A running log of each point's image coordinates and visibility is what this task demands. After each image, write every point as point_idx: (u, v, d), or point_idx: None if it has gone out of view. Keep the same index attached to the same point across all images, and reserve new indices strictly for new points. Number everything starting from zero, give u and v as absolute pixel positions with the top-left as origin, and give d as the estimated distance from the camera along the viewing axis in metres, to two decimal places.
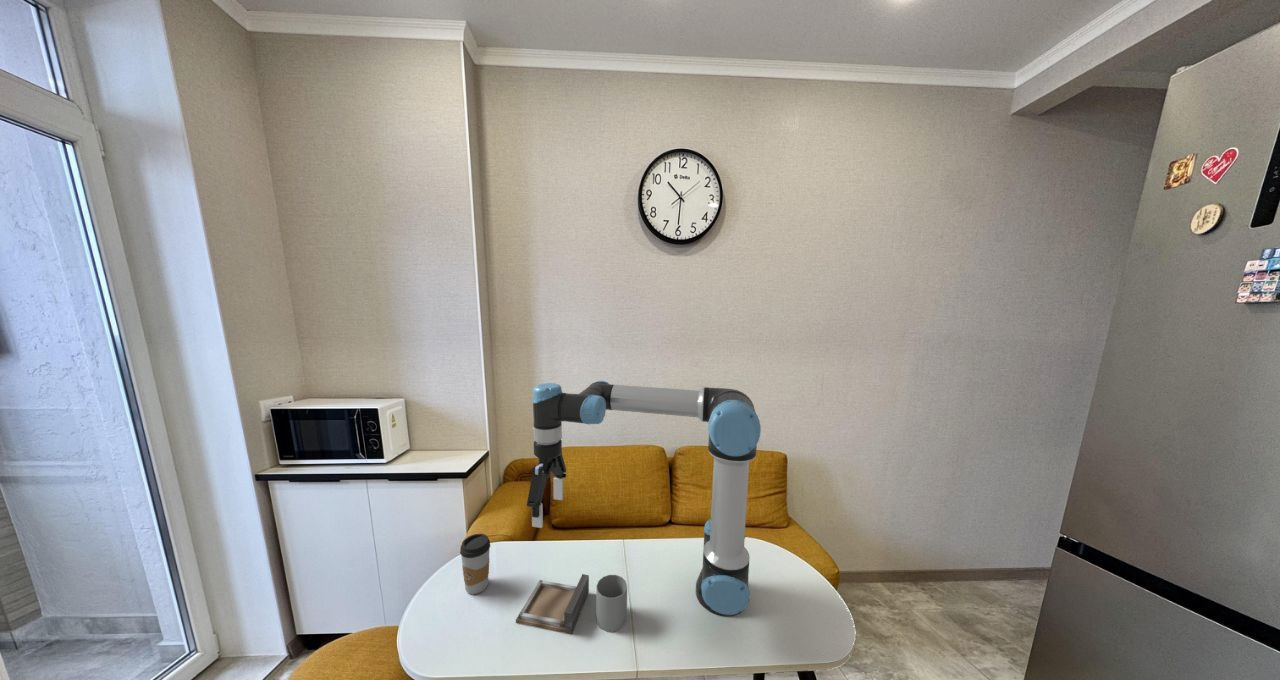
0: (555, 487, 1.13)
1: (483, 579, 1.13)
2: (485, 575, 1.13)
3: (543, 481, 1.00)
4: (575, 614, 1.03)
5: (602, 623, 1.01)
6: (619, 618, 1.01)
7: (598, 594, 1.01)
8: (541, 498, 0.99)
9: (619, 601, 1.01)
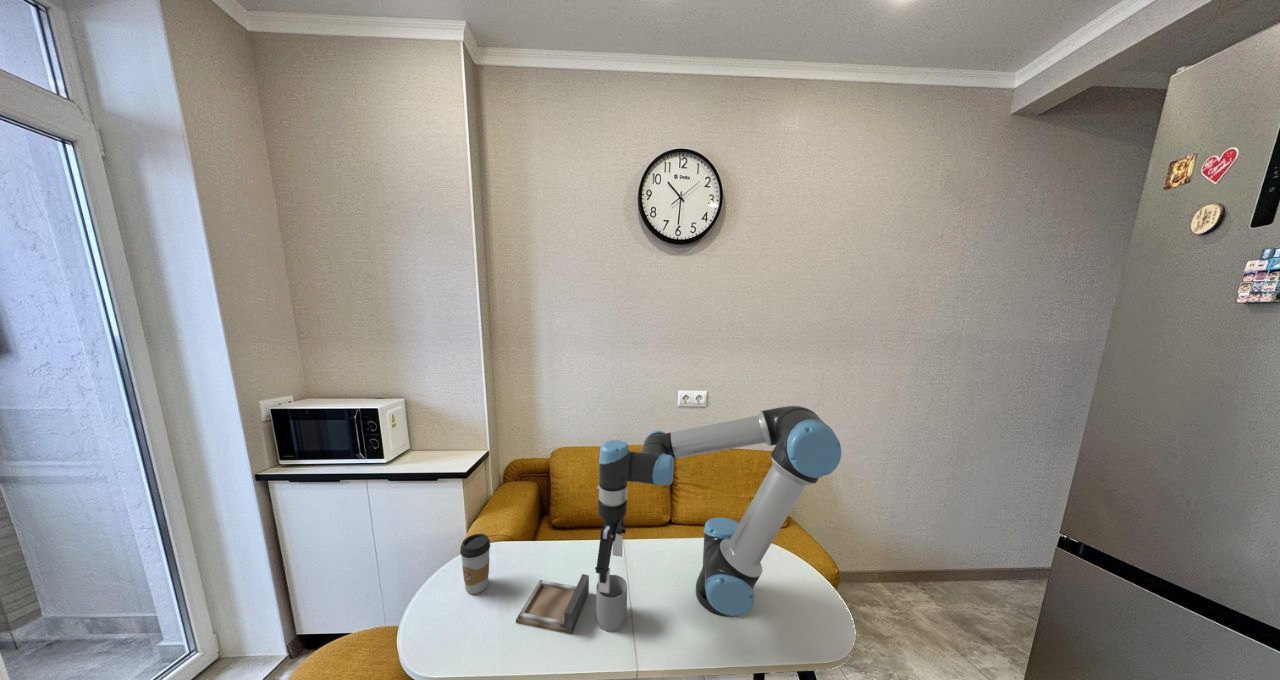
0: (615, 543, 1.09)
1: (483, 578, 1.13)
2: (485, 575, 1.13)
3: (610, 544, 0.97)
4: (575, 614, 1.03)
5: (602, 623, 1.01)
6: (619, 618, 1.01)
7: (598, 594, 1.01)
8: None
9: (619, 601, 1.01)
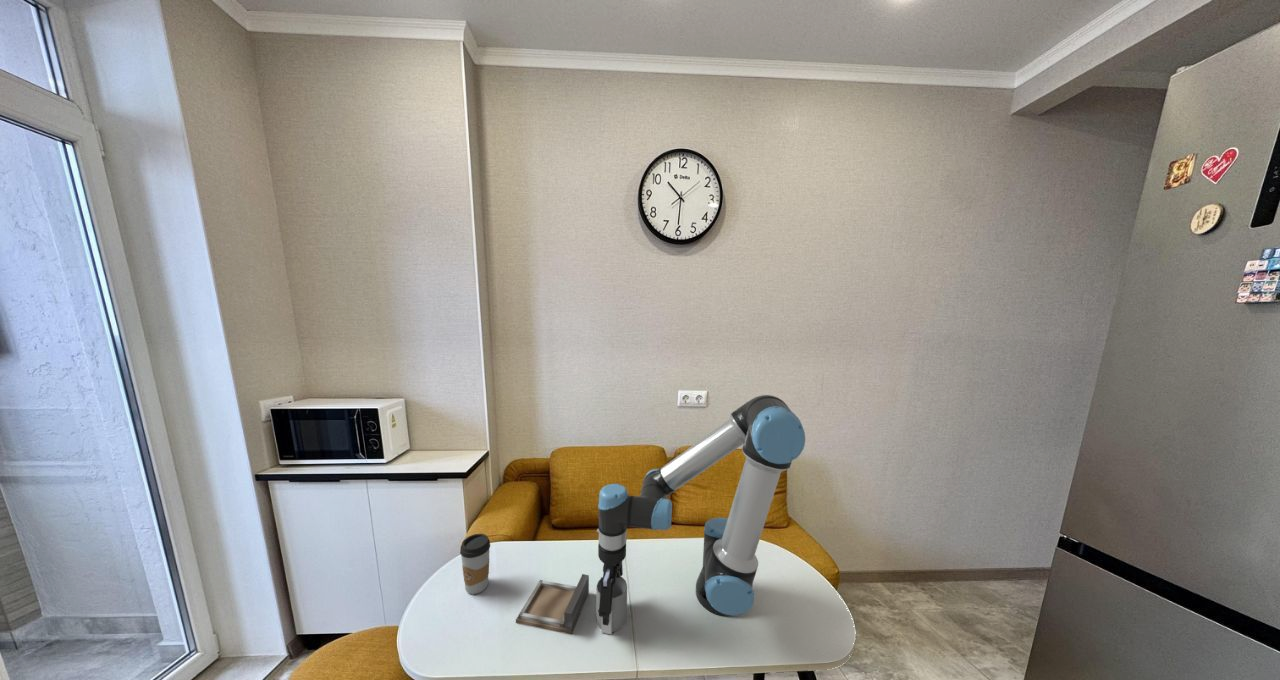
0: None
1: (483, 579, 1.13)
2: (485, 575, 1.13)
3: (611, 588, 1.00)
4: (575, 614, 1.03)
5: None
6: (619, 618, 1.01)
7: (598, 594, 1.01)
8: (611, 605, 0.99)
9: (619, 601, 1.01)
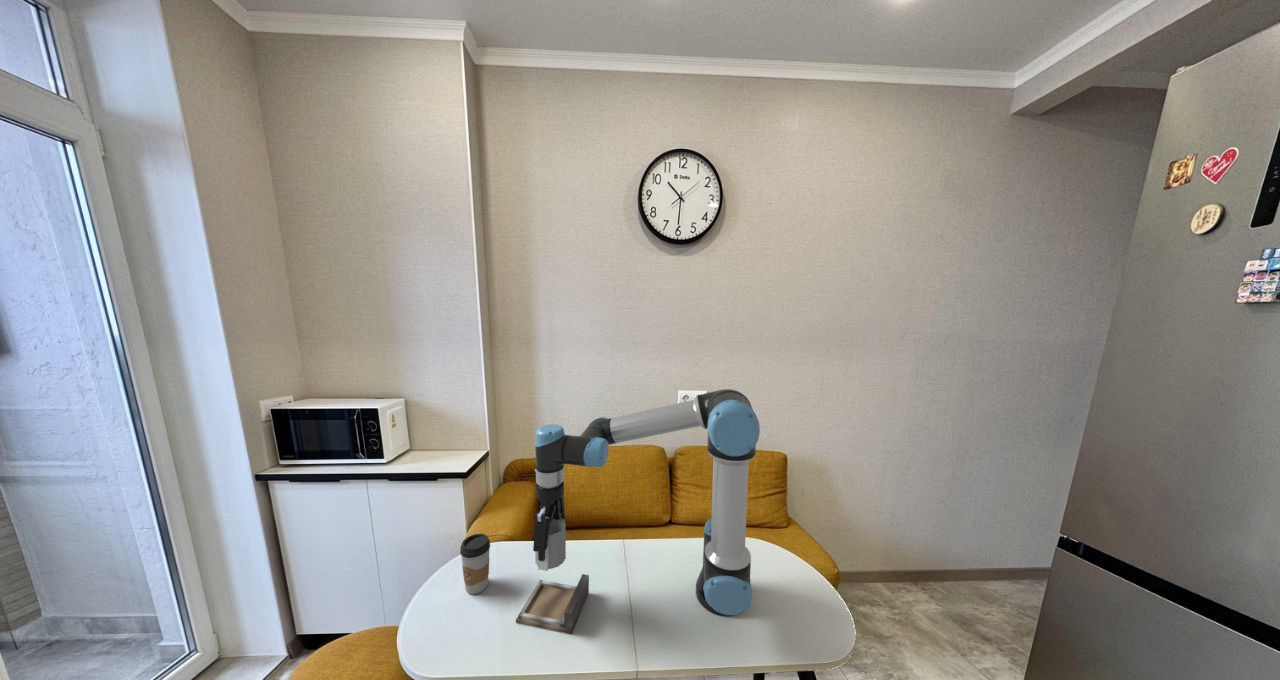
0: None
1: (483, 579, 1.13)
2: (485, 575, 1.13)
3: (547, 525, 1.01)
4: (575, 614, 1.03)
5: None
6: (556, 556, 1.03)
7: None
8: None
9: (555, 538, 1.02)
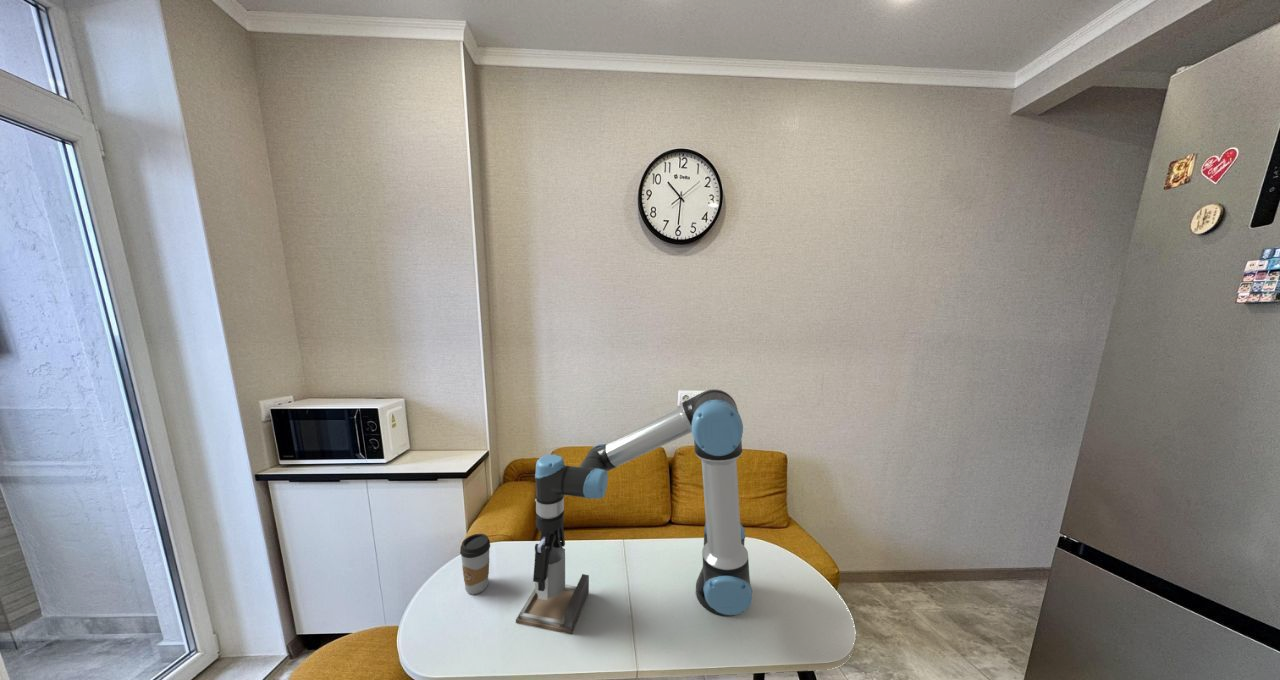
0: None
1: (483, 579, 1.13)
2: (485, 575, 1.13)
3: (547, 555, 1.02)
4: (575, 614, 1.03)
5: None
6: (555, 585, 1.04)
7: None
8: (546, 572, 1.02)
9: (555, 568, 1.03)
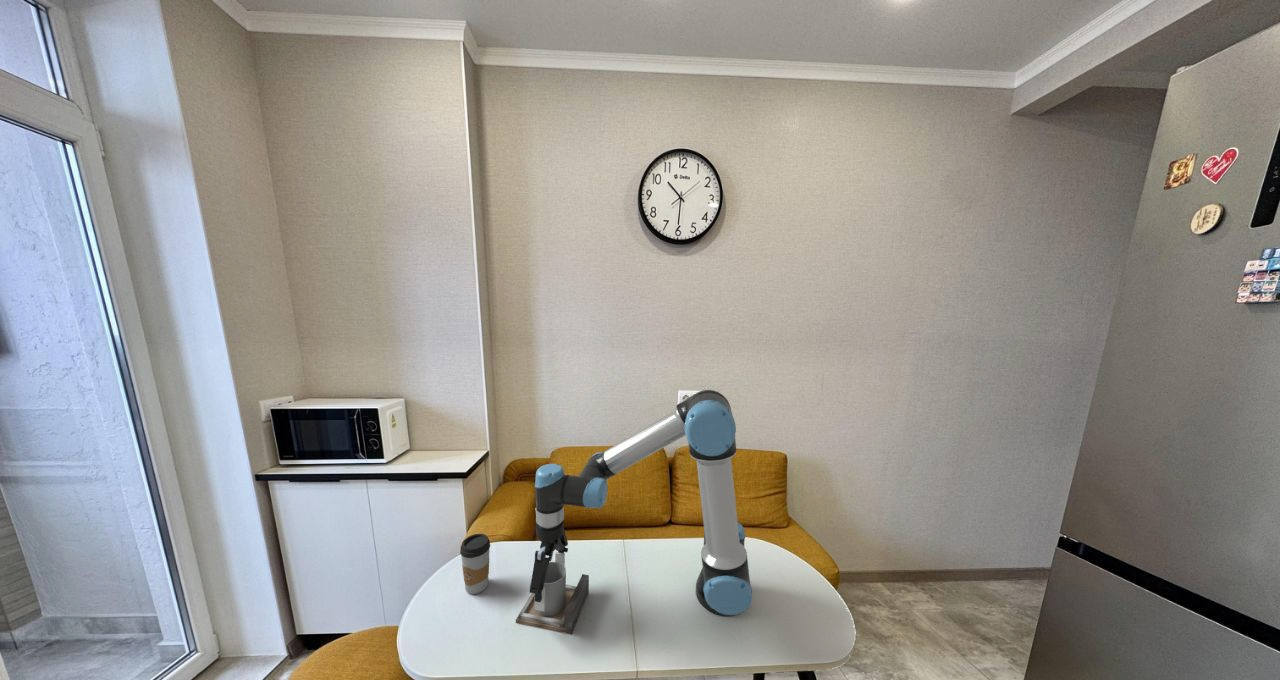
0: None
1: (483, 579, 1.13)
2: (485, 575, 1.13)
3: (545, 564, 1.02)
4: (575, 614, 1.03)
5: None
6: (556, 603, 1.04)
7: None
8: (544, 582, 1.00)
9: (555, 586, 1.04)
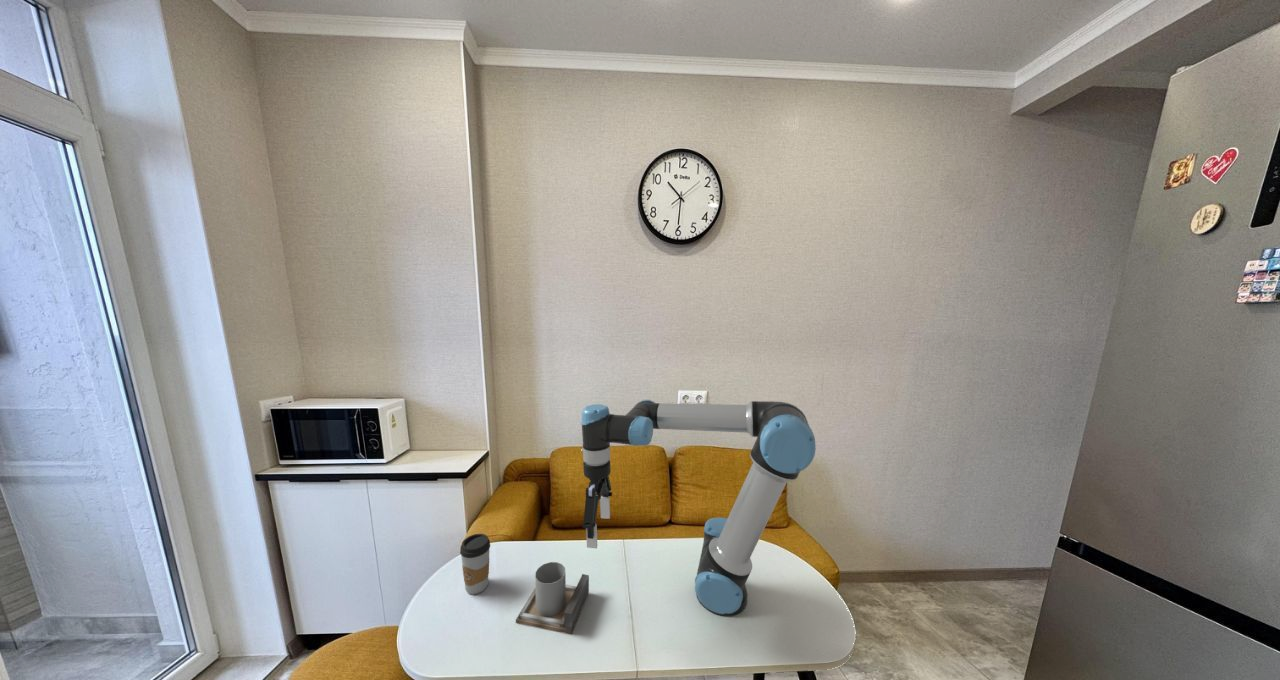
0: (602, 506, 1.14)
1: (483, 579, 1.13)
2: (485, 575, 1.13)
3: (596, 502, 1.02)
4: (575, 614, 1.03)
5: (539, 608, 1.04)
6: (556, 603, 1.04)
7: (536, 580, 1.05)
8: (595, 519, 1.00)
9: (555, 587, 1.04)
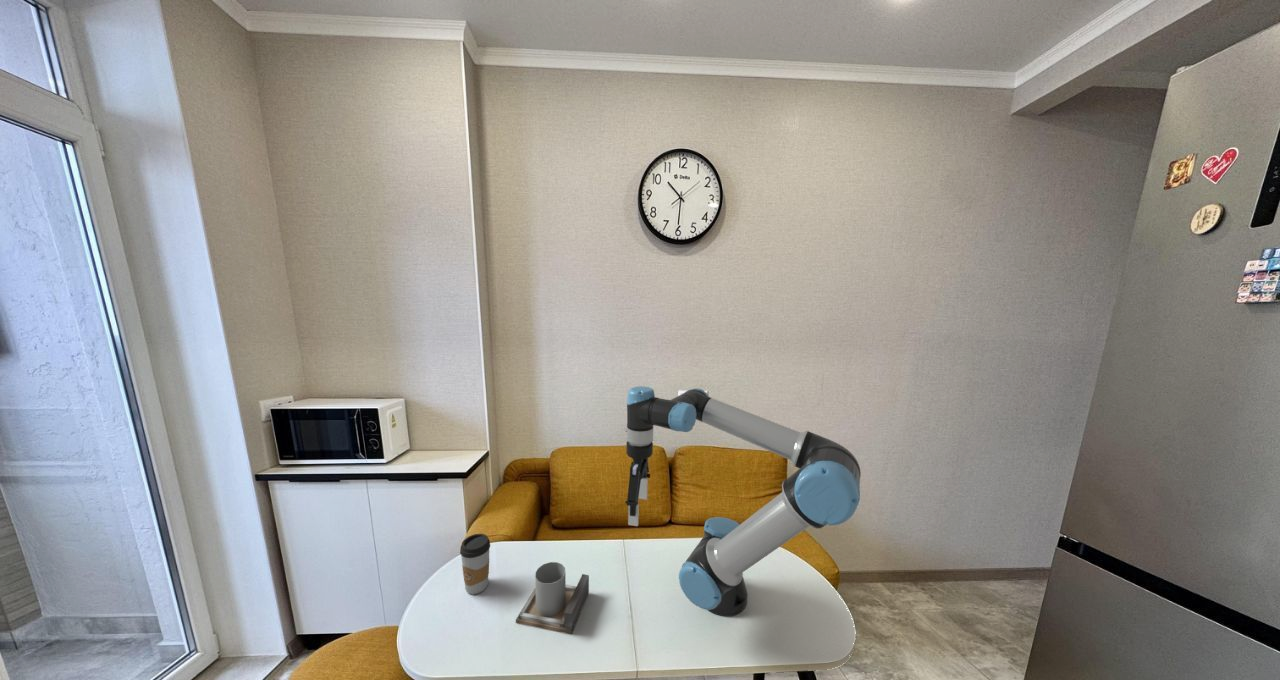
0: (640, 487, 1.16)
1: (483, 579, 1.13)
2: (485, 575, 1.13)
3: (638, 481, 1.04)
4: (575, 614, 1.03)
5: (539, 608, 1.04)
6: (556, 603, 1.04)
7: (536, 580, 1.05)
8: (638, 497, 1.03)
9: (555, 587, 1.04)
